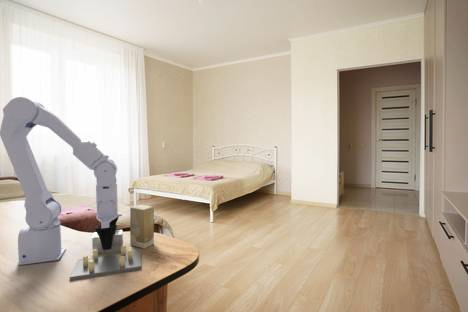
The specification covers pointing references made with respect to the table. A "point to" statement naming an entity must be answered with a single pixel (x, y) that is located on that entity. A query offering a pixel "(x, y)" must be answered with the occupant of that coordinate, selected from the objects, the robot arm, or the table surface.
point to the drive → (116, 242)
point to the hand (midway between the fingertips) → (108, 244)
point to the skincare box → (142, 226)
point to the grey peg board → (106, 264)
